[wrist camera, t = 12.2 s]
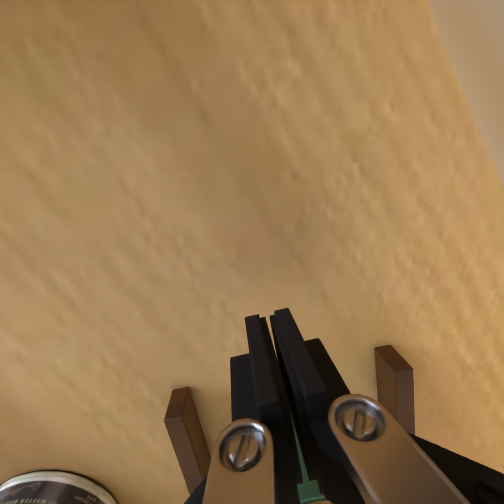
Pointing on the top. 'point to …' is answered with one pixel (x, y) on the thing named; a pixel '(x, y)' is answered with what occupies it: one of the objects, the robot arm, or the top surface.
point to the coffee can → (53, 489)
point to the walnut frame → (193, 442)
